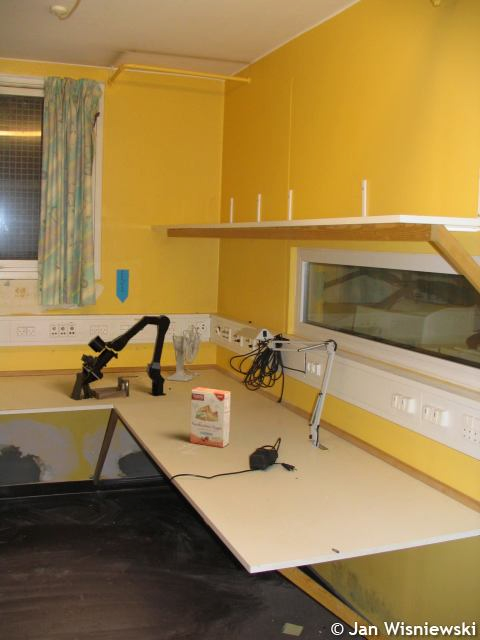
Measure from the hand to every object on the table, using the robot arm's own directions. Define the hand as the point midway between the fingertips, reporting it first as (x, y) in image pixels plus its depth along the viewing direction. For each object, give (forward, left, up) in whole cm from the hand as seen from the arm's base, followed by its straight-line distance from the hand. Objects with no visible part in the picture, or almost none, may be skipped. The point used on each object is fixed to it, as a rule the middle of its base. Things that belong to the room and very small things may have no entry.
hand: (80, 383), depth 338 cm
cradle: (-1, -14, -7) cm, 16 cm away
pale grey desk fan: (+27, -69, -7) cm, 74 cm away
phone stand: (0, -1, -7) cm, 7 cm away
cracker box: (-93, -18, -7) cm, 95 cm away
